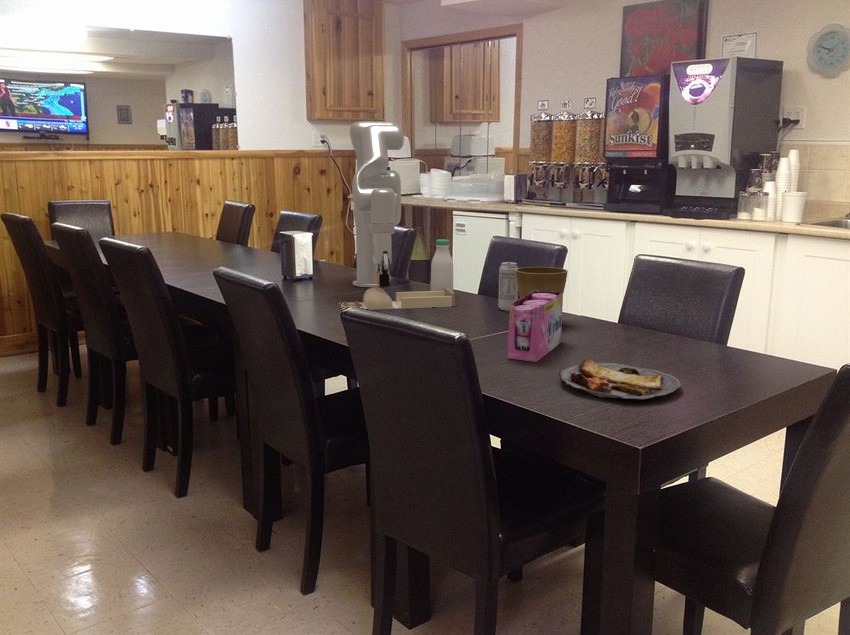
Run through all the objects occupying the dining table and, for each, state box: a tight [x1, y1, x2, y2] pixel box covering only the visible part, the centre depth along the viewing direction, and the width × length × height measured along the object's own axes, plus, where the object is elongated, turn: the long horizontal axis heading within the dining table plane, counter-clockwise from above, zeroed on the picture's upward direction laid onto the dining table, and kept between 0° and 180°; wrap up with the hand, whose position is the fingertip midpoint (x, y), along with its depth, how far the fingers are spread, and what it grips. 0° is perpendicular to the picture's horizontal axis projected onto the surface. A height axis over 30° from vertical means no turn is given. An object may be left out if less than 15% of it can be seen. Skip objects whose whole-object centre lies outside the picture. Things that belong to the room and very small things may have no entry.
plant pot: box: [516, 266, 568, 299], centre depth 224 cm, size 15×15×16 cm
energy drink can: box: [497, 261, 519, 312], centre depth 244 cm, size 6×6×15 cm
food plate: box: [558, 358, 682, 400], centre depth 165 cm, size 25×23×4 cm
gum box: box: [506, 290, 564, 363], centre depth 194 cm, size 24×8×14 cm, turn 156°
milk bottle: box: [430, 238, 454, 292], centre depth 263 cm, size 8×8×20 cm
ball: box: [375, 271, 392, 285], centre depth 248 cm, size 5×5×5 cm
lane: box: [338, 287, 456, 311], centre depth 251 cm, size 11×36×8 cm, turn 102°
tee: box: [340, 300, 362, 308], centre depth 248 cm, size 7×7×1 cm
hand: (383, 284), depth 248 cm, fingers closed on ball, 4 cm apart
